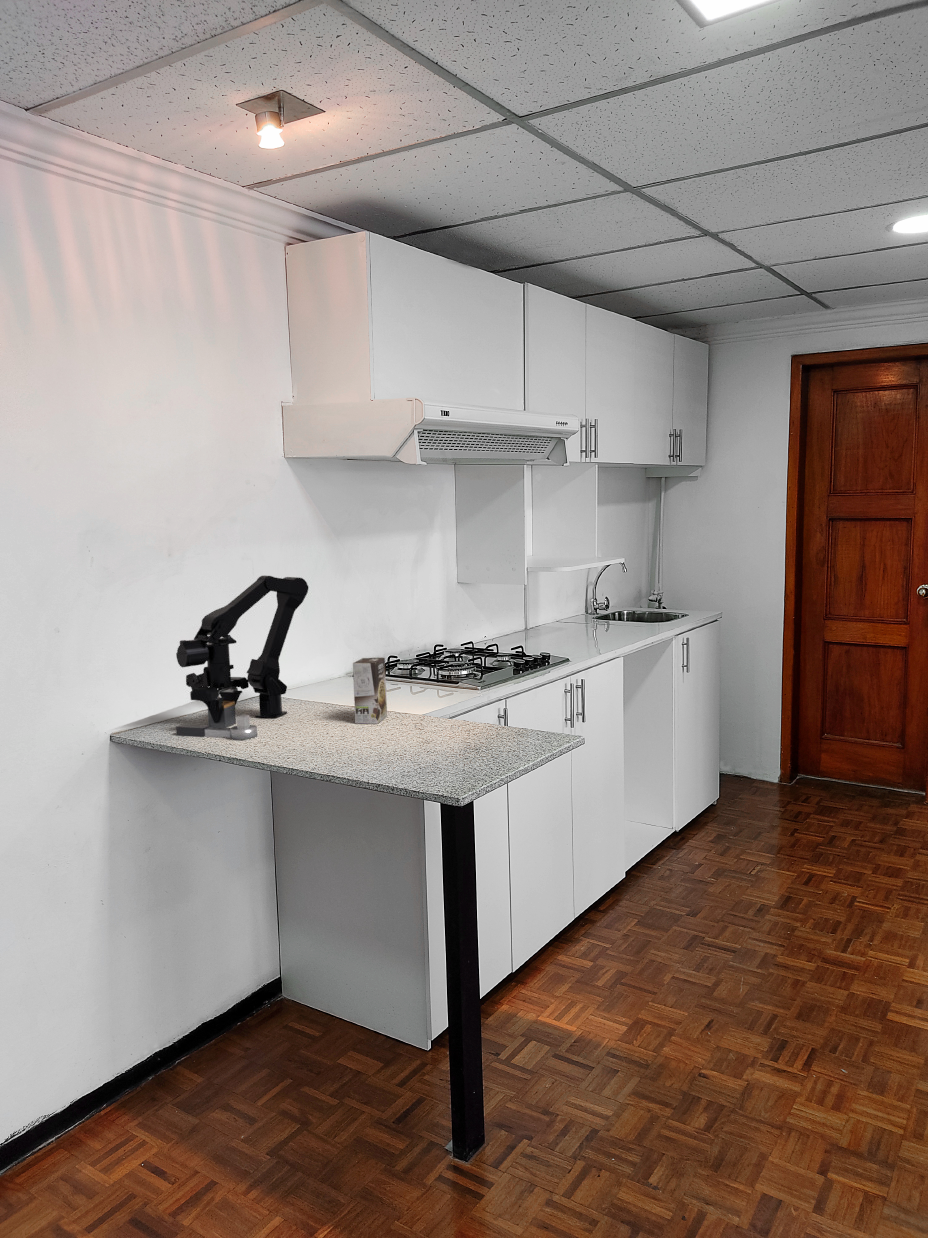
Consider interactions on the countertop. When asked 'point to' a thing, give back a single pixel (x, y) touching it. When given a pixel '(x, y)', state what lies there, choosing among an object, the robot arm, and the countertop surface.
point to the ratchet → (220, 730)
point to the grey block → (224, 715)
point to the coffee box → (370, 690)
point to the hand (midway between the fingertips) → (222, 720)
